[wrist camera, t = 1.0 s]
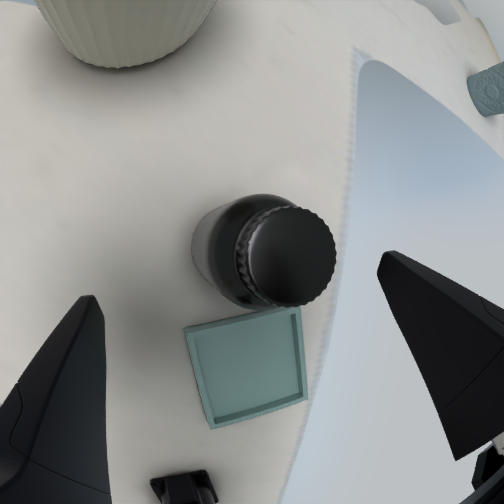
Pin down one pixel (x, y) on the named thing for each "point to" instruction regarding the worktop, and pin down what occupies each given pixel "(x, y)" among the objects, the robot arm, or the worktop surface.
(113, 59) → the canister
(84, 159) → the worktop surface
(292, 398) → the tray
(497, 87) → the grey cup
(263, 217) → the supplement bottle
